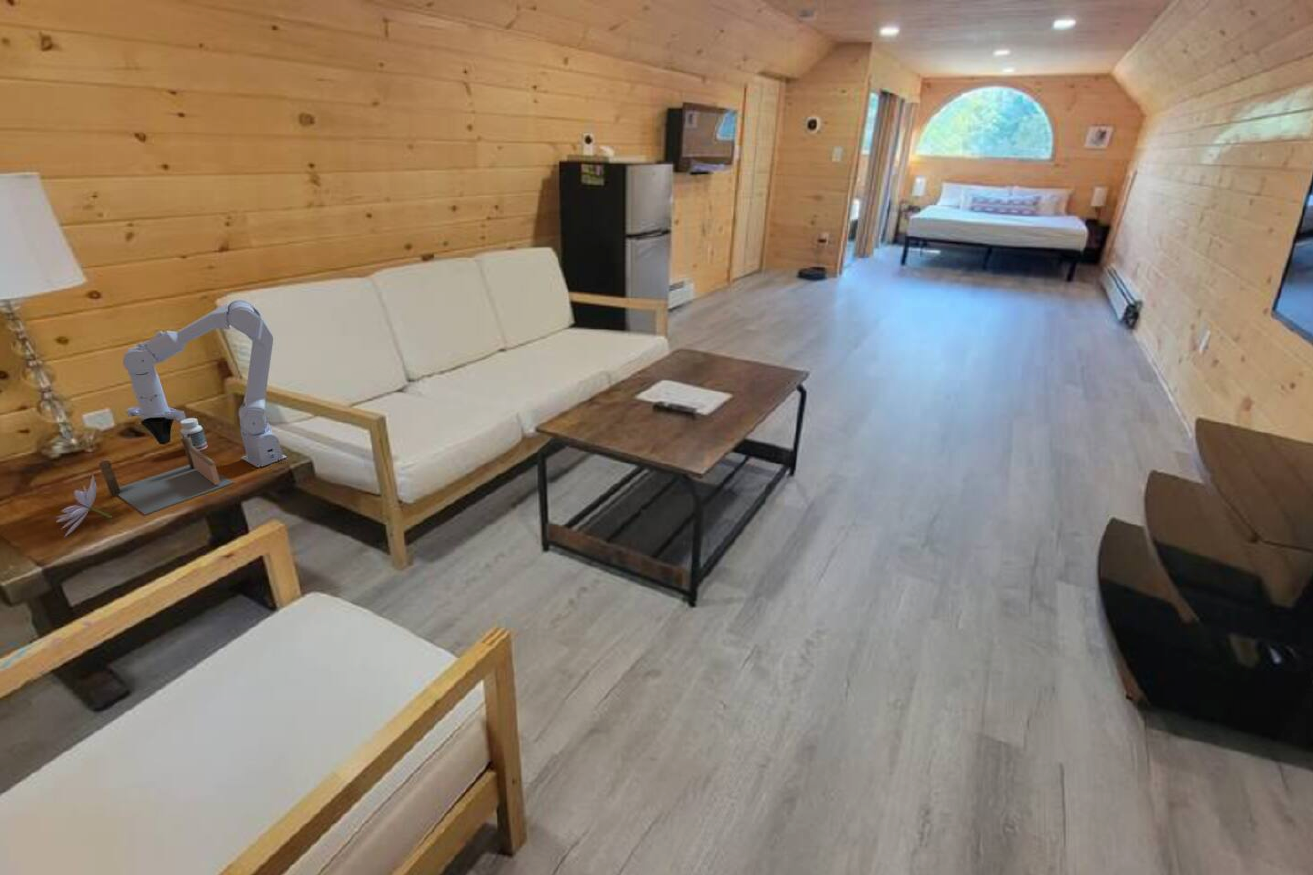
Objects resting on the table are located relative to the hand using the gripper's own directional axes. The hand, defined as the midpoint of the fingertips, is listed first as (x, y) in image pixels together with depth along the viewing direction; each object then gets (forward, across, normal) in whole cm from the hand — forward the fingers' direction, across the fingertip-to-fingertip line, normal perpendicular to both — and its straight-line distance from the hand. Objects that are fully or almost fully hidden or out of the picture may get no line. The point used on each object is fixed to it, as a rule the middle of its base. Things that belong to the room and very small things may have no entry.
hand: (165, 442), depth 166 cm
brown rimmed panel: (+9, +10, 0) cm, 13 cm away
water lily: (+10, -2, -24) cm, 26 cm away
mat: (+10, +5, -6) cm, 12 cm away
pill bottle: (+10, -7, +16) cm, 19 cm away
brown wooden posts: (+10, -2, -4) cm, 10 cm away
